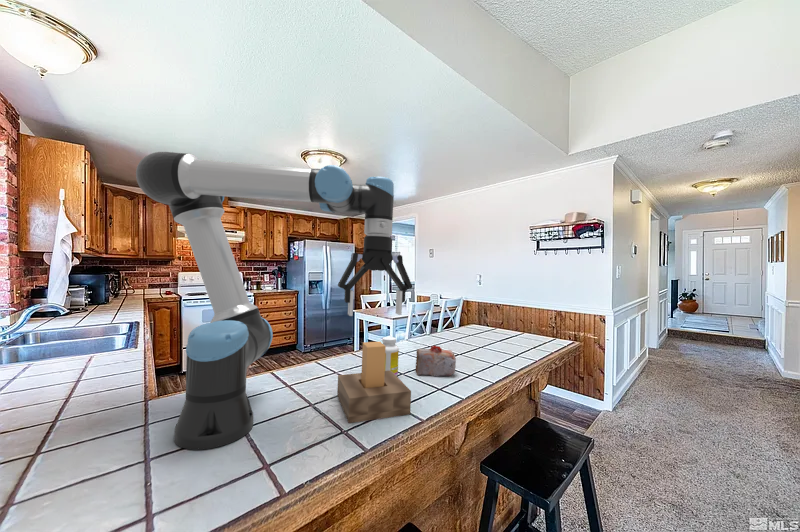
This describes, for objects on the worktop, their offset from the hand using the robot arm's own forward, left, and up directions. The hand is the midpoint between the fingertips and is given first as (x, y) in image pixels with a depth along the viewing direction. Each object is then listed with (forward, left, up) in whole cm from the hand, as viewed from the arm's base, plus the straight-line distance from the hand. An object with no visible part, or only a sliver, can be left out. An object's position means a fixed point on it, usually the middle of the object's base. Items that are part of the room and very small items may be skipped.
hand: (374, 314), depth 86 cm
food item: (+8, +32, -25) cm, 41 cm away
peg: (0, 0, -23) cm, 23 cm away
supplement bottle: (-6, +22, -25) cm, 34 cm away
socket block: (0, 0, -24) cm, 25 cm away
